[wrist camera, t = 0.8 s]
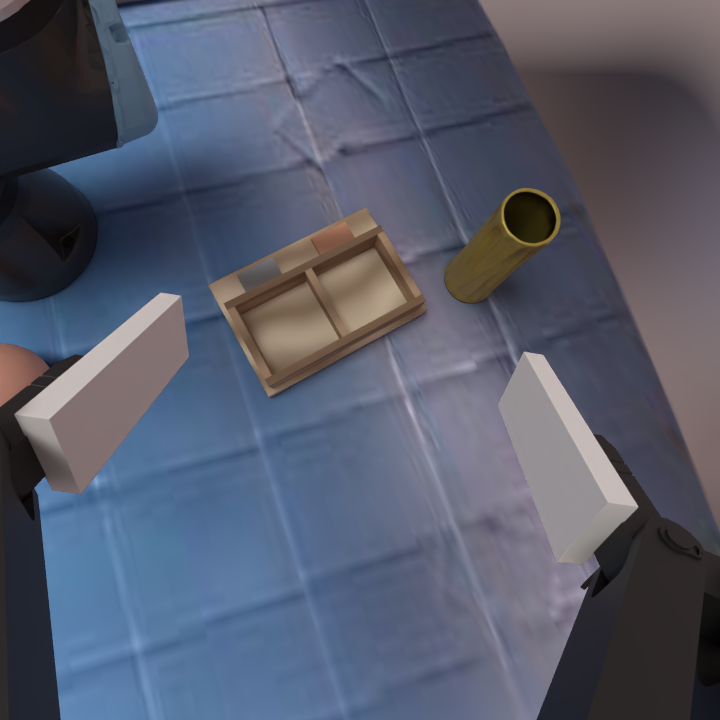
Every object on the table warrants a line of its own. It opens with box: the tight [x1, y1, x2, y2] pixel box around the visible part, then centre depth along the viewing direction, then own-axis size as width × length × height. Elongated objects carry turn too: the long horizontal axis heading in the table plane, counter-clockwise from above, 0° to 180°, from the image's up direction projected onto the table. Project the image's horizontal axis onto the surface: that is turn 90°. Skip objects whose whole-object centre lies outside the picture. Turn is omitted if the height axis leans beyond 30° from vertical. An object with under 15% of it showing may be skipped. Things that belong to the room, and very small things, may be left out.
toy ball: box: [0, 343, 49, 407], centre depth 36 cm, size 8×8×8 cm
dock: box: [208, 208, 427, 397], centre depth 41 cm, size 14×20×4 cm
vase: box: [445, 188, 560, 303], centre depth 38 cm, size 6×6×14 cm
